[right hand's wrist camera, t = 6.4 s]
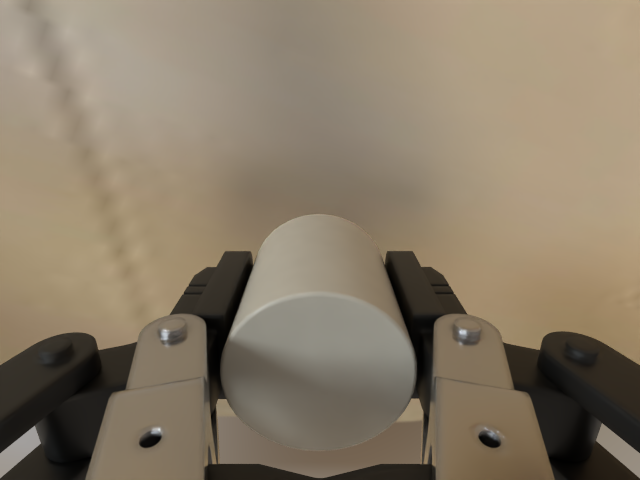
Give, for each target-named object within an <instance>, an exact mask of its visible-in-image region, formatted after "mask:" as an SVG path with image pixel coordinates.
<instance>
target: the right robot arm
mask: <svg viewBox="0 0 640 480" xmlns="http://www.w3.org/2000/svg"><path fill="white" fill-rule="evenodd" d="M385 267H386V270H387V273H388V276H389V279H390V282H391V285H392V287H393V290H394V293H395V296H396V299H397V302H398V305H399V308H400V310H401V313H402V316H403V319H404V322H405V325H406V328H407V330H408V333H409V336H410V339H411V342H412V345H413V348H414V351H415V355H416V359H417V381H416V385H415V389H414V393H413V395H412V397H411V398H419V399H420V403H421V406H422V409H423V419H422V437H421V459H420V464H379V465H375V466H371V467H367V468H363V469H359V470H355V471H351V472H347V473H343V474H339V475H335V476H331V477H327V478H313V477H309V476H305V475H301V474H297V473H293V472H289V471H285V470H281V469H277V468H272V467H269V466H265V465H261V464H220V459H219V437H218V419H217V411H216V403H217V400H218V399H226V397H225V394H224V391H223V388H222V384H221V378H220V362H221V356H222V352H223V349H224V346H225V343H226V341H227V338H228V335H229V332H230V329H231V327H232V324H233V321H234V318H235V315H236V313H237V310H238V307H239V304H240V301H241V299H242V296H243V293H244V290H245V287H246V285H247V282H248V279H249V276H250V274H251V271H252V268H253V260H252V254H251V252H250V251H226V252H225V253H224V254H223V256H222V258H221V260H220V262H219V264H218V265H217V267H207V268H205V269H204V270H202V271H201V272H199V273H198V274H196V275H195V276H194V277H193V279H192V281H191V282H190V284H189V287H187V288H186V290H185V292H184V295H182V296H181V298H180V299H179V301H178V303H177V304H176V306H175V307H174V309H173V310H172V312H171V314H170V315H169V316H165V317H162V318H159V319H157V320H155V321H153V322H151V323H149V324H148V325H147V326H145V327H144V328H143V329H142V331H141V332H140V334H139V337H138V341H137V342H135V343H132V344H128V345H124V346H119V347H114V348H108V349H103V350H98V347H97V343H96V340H95V338H94V337H93V336H91V335H89V334H86V333H66V334H61V335H57V336H53V337H50V338H47V339H45V340H42V341H40V342H38V343H36V344H35V345H33V346H31V347H29V348H28V349H26V350H25V351H23V352H21V353H20V354H18V355H16V356H15V357H13V358H11V359H10V360H8V361H7V362H5V363H3V364H2V365H0V453H1V452H2V451H3V450H5V449H6V448H7V447H8V446H10V445H11V444H12V443H13V442H15V441H16V440H17V439H18V438H20V437H21V436H22V435H23V434H25V433H26V432H27V431H28V430H29V429H31V428H32V427H33V426H35V427H36V430H37V433H38V436H39V439H40V441H41V444H40V445H39V446H38V447H36V448H35V449H34V450H33V451H32V452H31V453H29V454H28V455H27V456H26V457H25V458H24V459H22V460H21V461H20V462H19V463H18V464H17V465H16V466H14V467H13V468H12V469H11V470H10V471H9V472H7V473H6V474H5V475H4V476H3V477H2V478H0V480H640V478H638V477H637V476H636V475H635V474H634V473H633V472H631V471H630V470H629V469H628V468H627V467H626V466H625V465H623V464H622V463H621V462H620V461H619V460H618V459H616V458H615V457H614V456H613V455H612V454H611V453H609V452H608V451H607V450H606V449H605V448H604V447H602V446H601V445H600V444H599V443H598V442H596V438H597V436H598V433H599V430H600V427H601V424H602V423H603V424H604V425H605V426H607V427H608V428H609V429H610V430H612V431H613V432H614V433H615V434H617V435H618V436H619V437H620V438H622V439H623V440H624V441H625V442H627V443H628V444H629V445H630V446H632V447H633V448H634V449H635V450H637V451H638V452H639V453H640V365H638V364H637V363H635V362H633V361H632V360H630V359H628V358H627V357H625V356H624V355H622V354H620V353H619V352H617V351H615V350H614V349H612V348H611V347H609V346H607V345H606V344H604V343H602V342H600V341H598V340H596V339H594V338H591V337H588V336H585V335H582V334H578V333H572V332H552V333H549V334H547V335H546V336H545V337H544V338H543V340H542V344H541V348H540V350H536V349H531V348H526V347H520V346H515V345H511V344H506V343H503V341H502V337H501V334H500V332H499V331H498V329H497V328H496V327H495V326H493V325H492V324H491V323H489V322H487V321H485V320H483V319H481V318H478V317H475V316H471V315H468V314H467V313H466V311H465V310H464V308H463V306H462V305H461V303H460V302H459V300H458V299H457V297H456V295H455V294H454V292H453V291H452V289H451V287H450V286H449V284H448V283H447V281H446V279H445V278H444V276H443V275H442V274H440V273H439V272H437V271H436V270H434V269H433V268H431V267H421V266H420V264H419V262H418V260H417V258H416V256H415V255H414V253H413V251H387V253H386V259H385Z"/></svg>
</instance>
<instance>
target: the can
mask: <svg viewBox="0 0 640 480" xmlns="http://www.w3.org/2000/svg"><path fill="white" fill-rule="evenodd" d="M220 378H221V384H222V388H223V391H224V394H225V397H226V399H227V401H228V403H229V405H230V407H231V408H232V410H233V411H234V413H235V414H236V415H237V416H238V417H239V419H240V420H241V421H242V422H243V423H244V424H246V425H247V426H248V427H249V428H250V429H251V430H253V431H254V432H256V433H257V434H259V435H260V436H262V437H264V438H266V439H268V440H270V441H272V442H275V443H277V444H280V445H283V446H286V447H290V448H294V449H300V450H309V451H330V450H338V449H343V448H348V447H351V446H355V445H358V444H361V443H363V442H365V441H368V440H370V439H372V438H374V437H375V436H377V435H379V434H380V433H382V432H383V431H385V430H386V429H387V428H389V427H390V426H391V425H392V424H393V423H394V422H395V421H396V420H397V419H398V418H399V417H400V416H401V414H402V413H403V412H404V411H405V409H406V407H407V406H408V404H409V402H410V400H411V397H412V395H413V393H414V389H415V385H416V381H417V359H416V355H415V351H414V348H413V345H412V342H411V339H410V336H409V333H408V330H407V328H406V325H405V322H404V319H403V316H402V313H401V310H400V308H399V305H398V302H397V299H396V296H395V293H394V290H393V287H392V285H391V282H390V279H389V276H388V273H387V270H386V267H385V264H384V262H383V259H382V256H381V253H380V251H379V249H378V247H377V245H376V244H375V242H374V240H373V239H372V238H371V237H370V236H369V234H368V233H366V232H365V231H364V230H363V229H362V228H361V227H359V226H358V225H356V224H355V223H353V222H351V221H349V220H347V219H344V218H341V217H338V216H333V215H327V214H311V215H304V216H301V217H297V218H294V219H292V220H289V221H287V222H285V223H284V224H282V225H280V226H279V227H278V228H276V229H275V230H274V231H273V232H272V233H271V234H270V235H269V236H268V237H267V238H266V239H265V241H264V242H263V244H262V245H261V247H260V249H259V251H258V254H257V257H256V260H255V262H254V265H253V268H252V271H251V274H250V276H249V279H248V282H247V285H246V287H245V290H244V293H243V296H242V299H241V301H240V304H239V307H238V310H237V313H236V315H235V318H234V321H233V324H232V327H231V329H230V332H229V335H228V338H227V341H226V343H225V346H224V349H223V352H222V356H221V362H220Z"/></svg>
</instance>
